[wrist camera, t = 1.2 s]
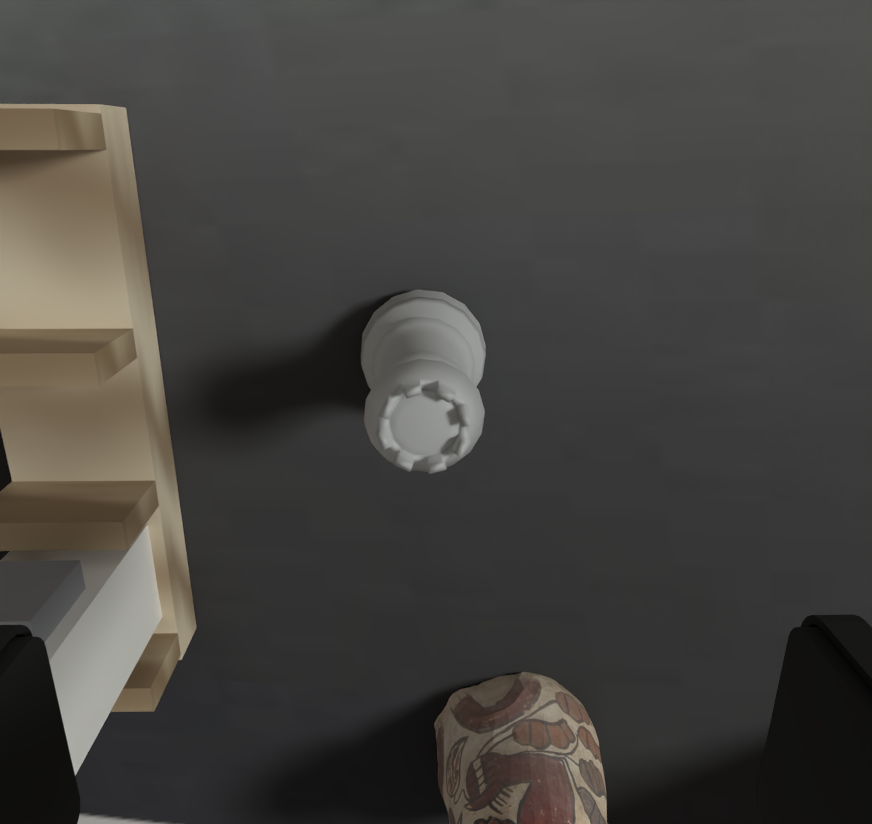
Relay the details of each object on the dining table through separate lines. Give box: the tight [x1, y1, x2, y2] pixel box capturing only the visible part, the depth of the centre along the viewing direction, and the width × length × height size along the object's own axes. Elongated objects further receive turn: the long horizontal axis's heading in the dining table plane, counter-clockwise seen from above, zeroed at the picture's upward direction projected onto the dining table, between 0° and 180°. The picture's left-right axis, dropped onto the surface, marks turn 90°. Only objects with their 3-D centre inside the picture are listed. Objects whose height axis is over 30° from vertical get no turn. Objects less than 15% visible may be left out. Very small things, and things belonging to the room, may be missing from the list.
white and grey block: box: [0, 524, 162, 775], centre depth 23 cm, size 5×4×8 cm
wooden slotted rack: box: [0, 104, 196, 712], centre depth 24 cm, size 20×5×5 cm, turn 0°
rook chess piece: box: [361, 290, 486, 474], centre depth 22 cm, size 4×4×8 cm
